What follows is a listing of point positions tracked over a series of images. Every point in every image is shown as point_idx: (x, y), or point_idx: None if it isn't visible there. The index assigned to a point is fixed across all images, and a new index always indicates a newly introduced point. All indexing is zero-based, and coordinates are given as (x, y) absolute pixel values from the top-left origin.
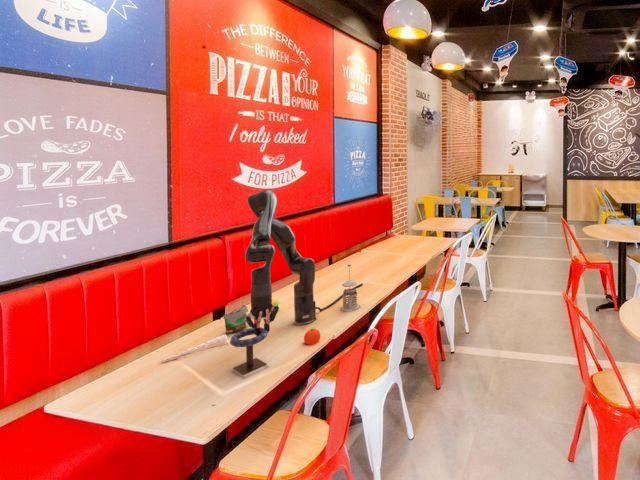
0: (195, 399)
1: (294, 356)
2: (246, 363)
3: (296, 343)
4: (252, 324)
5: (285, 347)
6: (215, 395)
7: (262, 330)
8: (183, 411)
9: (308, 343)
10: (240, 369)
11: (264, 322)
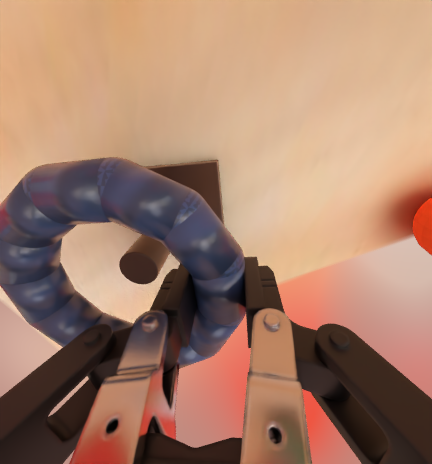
0: None
1: (321, 243)
2: (173, 180)
3: (419, 136)
4: (87, 413)
5: (362, 134)
6: (81, 265)
7: (208, 325)
8: None
9: (413, 233)
10: None
11: (253, 322)
